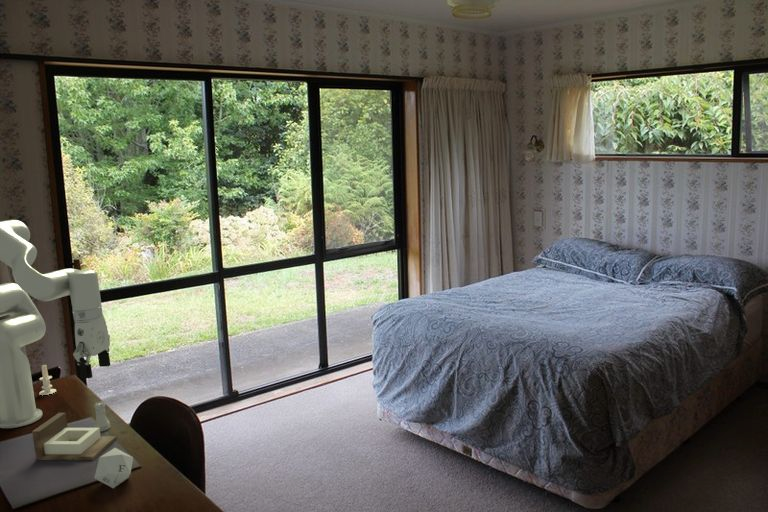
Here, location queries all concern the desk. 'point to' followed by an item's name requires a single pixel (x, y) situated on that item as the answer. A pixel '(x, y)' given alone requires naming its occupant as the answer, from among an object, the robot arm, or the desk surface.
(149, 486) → the desk surface
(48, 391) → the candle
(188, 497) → the desk surface
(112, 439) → the wooden bookend
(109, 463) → the die
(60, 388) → the desk surface
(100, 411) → the rook chess piece
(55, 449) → the socket block
